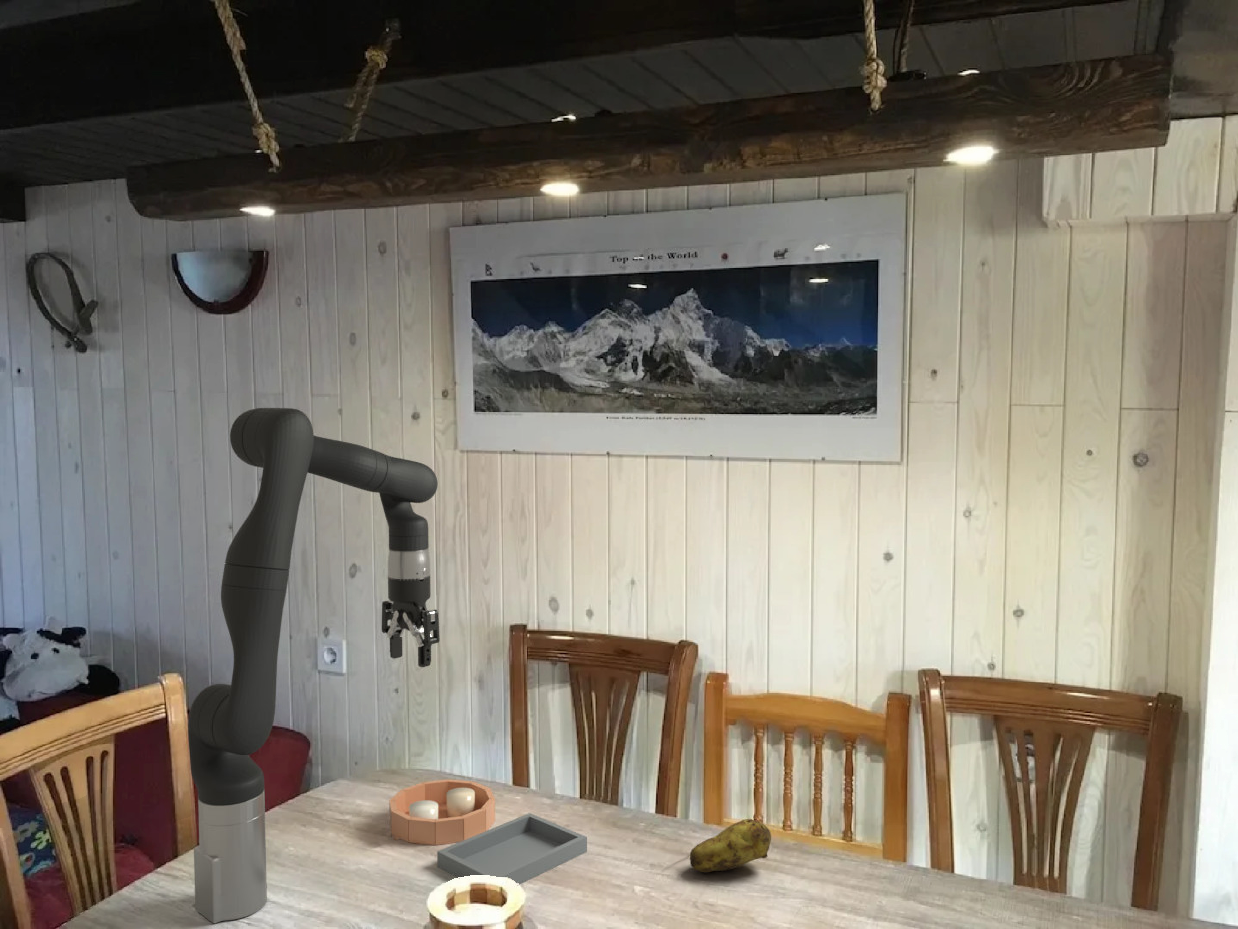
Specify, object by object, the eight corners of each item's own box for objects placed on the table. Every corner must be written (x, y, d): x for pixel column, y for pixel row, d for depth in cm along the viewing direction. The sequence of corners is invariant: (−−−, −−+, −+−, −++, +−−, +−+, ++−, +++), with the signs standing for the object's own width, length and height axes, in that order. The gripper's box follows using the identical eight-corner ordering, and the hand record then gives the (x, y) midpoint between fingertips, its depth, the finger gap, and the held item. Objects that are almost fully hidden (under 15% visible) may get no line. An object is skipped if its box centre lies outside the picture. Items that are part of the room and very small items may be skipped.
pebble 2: (458, 823, 176) (458, 801, 176) (441, 815, 179) (440, 793, 179) (480, 814, 180) (480, 792, 179) (462, 806, 183) (462, 785, 183)
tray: (494, 902, 150) (494, 880, 150) (437, 872, 160) (437, 851, 159) (587, 857, 165) (587, 837, 165) (529, 832, 174) (529, 813, 174)
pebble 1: (420, 837, 170) (420, 814, 170) (403, 828, 173) (403, 806, 173) (444, 828, 174) (443, 806, 173) (427, 820, 177) (426, 798, 177)
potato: (692, 855, 166) (693, 808, 165) (771, 861, 164) (771, 813, 163) (688, 878, 158) (688, 829, 157) (770, 885, 156) (771, 836, 155)
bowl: (432, 860, 164) (432, 831, 163) (370, 828, 176) (369, 800, 176) (514, 825, 177) (514, 798, 177) (451, 798, 189) (451, 772, 189)
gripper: (368, 571, 182) (370, 659, 183) (415, 581, 172) (416, 673, 173) (403, 566, 187) (404, 651, 188) (450, 575, 178) (451, 665, 179)
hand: (410, 662), depth 181 cm, fingers open, 8 cm apart
